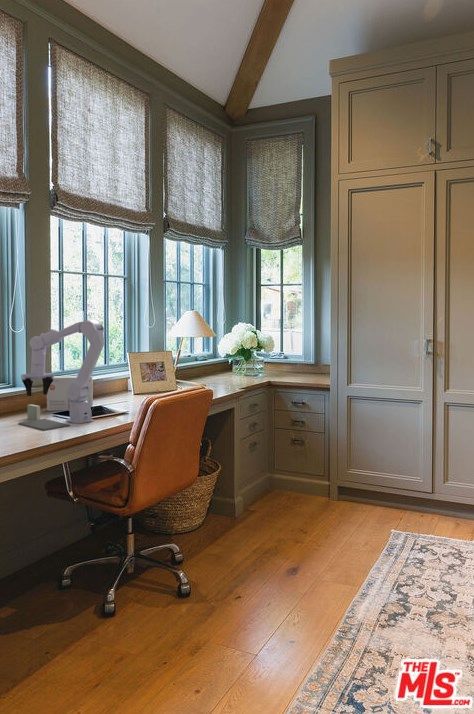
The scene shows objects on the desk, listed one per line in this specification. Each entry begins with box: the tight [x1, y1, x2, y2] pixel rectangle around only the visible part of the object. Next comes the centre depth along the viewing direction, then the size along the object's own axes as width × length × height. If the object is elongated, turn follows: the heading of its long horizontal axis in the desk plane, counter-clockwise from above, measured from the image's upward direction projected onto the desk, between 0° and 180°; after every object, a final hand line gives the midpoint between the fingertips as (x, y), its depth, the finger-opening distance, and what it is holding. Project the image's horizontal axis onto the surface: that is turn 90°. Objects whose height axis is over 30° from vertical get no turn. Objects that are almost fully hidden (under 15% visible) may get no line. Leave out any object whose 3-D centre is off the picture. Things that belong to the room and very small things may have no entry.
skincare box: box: [46, 375, 94, 412], centre depth 287 cm, size 21×5×16 cm, turn 101°
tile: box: [27, 404, 41, 421], centre depth 263 cm, size 7×2×6 cm, turn 48°
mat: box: [17, 418, 71, 432], centre depth 249 cm, size 20×12×1 cm, turn 48°
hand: (37, 395), depth 261 cm, fingers open, 7 cm apart
